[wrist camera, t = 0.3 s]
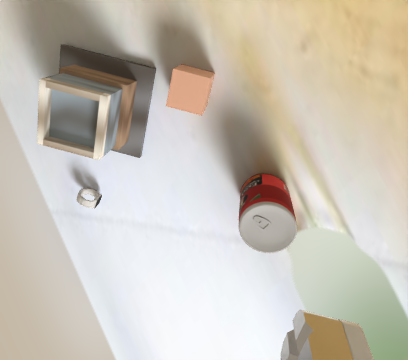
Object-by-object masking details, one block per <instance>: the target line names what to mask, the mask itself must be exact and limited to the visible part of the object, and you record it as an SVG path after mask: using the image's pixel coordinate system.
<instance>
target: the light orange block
mask: <svg viewBox="0 0 408 360" xmlns="http://www.w3.org/2000/svg"><path fill="white" fill-rule="evenodd" d="M214 75H215V73H213V72H209V71H206V70H202V69H198V68H194V67H190V66H186V65H183V64H181V65H179V66H177V67H175V68H174V69H173V73H172V78H171V83H170V88H169V94H168V99H167V104H166V106H168V107H171V108H175V109H179V110H183V111H187V112H190V113H194V114H198V115H202V114H203V113H204V111H205V109H206V107H207V104H208V100H209V96H210V91H211V87H212V83H213V79H214Z"/></svg>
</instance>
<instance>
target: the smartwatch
mask: <svg viewBox="0 0 408 360" xmlns="http://www.w3.org/2000/svg"><path fill="white" fill-rule="evenodd" d="M85 194H89V195H92V196H94V197H95V199H94V201H89V200H86V199H85V198H83V197H82V196H83V195H85ZM101 197H102V195H101V194H100V193H99V192H98V191H95V190H94V189H90V188H83V189H81V190H80V191H79V193H78V196H77V202H78V203H80V204H81V205H83V206H85V207H91V208H95V207H96V206H97V205H98V204H99V202H100V200H101Z"/></svg>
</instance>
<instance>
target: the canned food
mask: <svg viewBox="0 0 408 360" xmlns="http://www.w3.org/2000/svg"><path fill="white" fill-rule="evenodd" d="M239 231H240V235H241V237H242V239H243V240H244V242H245V243H246V244H247V245H248V246H249V247H251V248H253V249H254V250H257V251H259V252H264V253H275V252H279V251H282V250H284V249H286V248H287V247H289V246H290V245H291V244H292V243H293V241H294V239H295V237H296V234H297V224H296V218H295V214H294V210H293V206H292V202H291V198H290V194H289V190H288V188H287V186H286V185H285V183H284V182H283V181H282V180H280V179H279V178H277V177H275V176H273V175H269V174H258V175H255V176H253V177H251V178H250V179H249V180H247V181H246V182H245V184H244V185H243V187H242V189H241V195H240V209H239Z"/></svg>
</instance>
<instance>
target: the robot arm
mask: <svg viewBox="0 0 408 360" xmlns="http://www.w3.org/2000/svg"><path fill="white" fill-rule="evenodd" d="M293 325H294V330H292V331H290V332H288V333H287V335H286V337H285V339H284V342H283V346H282V351H281V360H374V359H373V356H372V354H371V351H370V348H369V346H368V343H367V340H366V338H365V335H364V332H363V330H362V328H361V326H360V325H359V324H356V323H352V322H348V321H344V320H339V319H338V320H337V319H334V318H330V317H326V316H322V315H319V314H315V313H311V312H308V311H304V310H299V311H298V312H297V313H296V315H295V317H294V319H293Z"/></svg>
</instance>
